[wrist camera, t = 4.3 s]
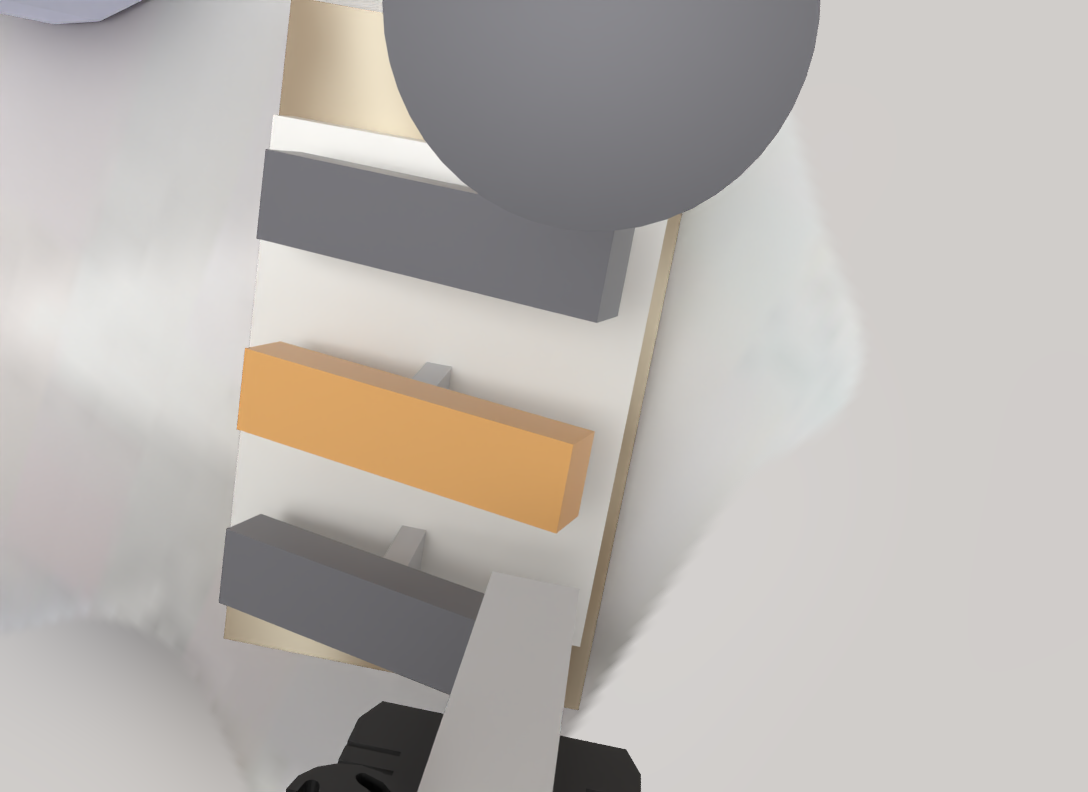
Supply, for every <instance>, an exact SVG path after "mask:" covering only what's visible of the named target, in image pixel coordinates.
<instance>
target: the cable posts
mask: <svg viewBox="0 0 1088 792" xmlns="http://www.w3.org/2000/svg"><path fill="white" fill-rule="evenodd" d="M819 15H820V0H383V21H384V35H385V40H386V46H387V51H388V57H389V62H390V66H391V69H392V72H393V75H394V79H395V82H396V85H397V88H398V91H399V93H400V95H401V98H402V100H403V102H404V104H405V106H406V109H407V111H408V113H409V115H410V117H411V119H412V120H413V122H414V124H415V125H416V127H417V129H418V130H419V132H420V134H421V135H422V137H423V139H424V140H425V141H426V143H427V144H428V145H429V146H430V148H431V149H432V150H433V151H434V153H435V154H436V155H437V157H438V158H439V159H440V160H441V162H442V163H443V164H444V165H445V166H446V167H447V168H449V169H450V170H451V171H452V172H453V173H454V174H455V175H456V176H457V177H458V178H459V179H460V180H461V181H462V182H463V183H465V184H466V185H467V186H469V187H470V188H471V189H473V190H474V191H475V192H477V193H478V194H479V195H481V196H482V197H483V198H485V199H487V200H488V201H490V202H492V203H494V204H496V205H497V206H499V207H501V208H503V209H504V210H506V211H508V212H511V213H513V214H516V215H518V216H521V217H523V218H526V219H528V220H530V221H533V222H537V223H541V224H545V225H549V226H553V227H557V228H562V229H571V230H579V231H616V230H623V229H629V228H636V227H642V226H645V225H649V224H652V223H656V222H659V221H663V220H666V219H669V218H671V217H673V216H676V215H678V214H680V213H683V212H685V211H687V210H690V209H692V208H694V207H696V206H697V205H699V204H701V203H702V202H704V201H706V200H707V199H709V198H711V197H712V196H714V195H716V194H717V193H719V192H720V191H721V190H722V189H724V188H725V187H726V186H728V185H729V184H730V183H731V182H733V181H734V180H735V179H737V178H738V177H739V176H740V175H741V174H742V173H743V172H744V171H745V170H746V169H747V168H748V167H749V166H750V165H751V164H752V163H753V162H754V161H755V160H756V159H757V158H758V157H759V156H760V155H761V154H762V152H763V151H764V150H765V149H766V147H767V146H768V145H769V143H770V142H771V141H772V140H773V138H774V137H775V136H776V134H777V133H778V132H779V130H780V128H781V127H782V125H783V123H784V122H785V120H786V118H787V117H788V115H789V113H790V111H791V110H792V108H793V106H794V104H795V102H796V99H797V97H798V95H799V93H800V90H801V88H802V86H803V84H804V81H805V78H806V76H807V72H808V69H809V65H810V62H811V59H812V55H813V52H814V48H815V42H816V36H817V29H818V24H819Z"/></svg>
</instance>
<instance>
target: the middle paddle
mask: <svg viewBox="0 0 1088 792" xmlns="http://www.w3.org/2000/svg"><path fill="white" fill-rule="evenodd" d="M237 429H238V430H241V431H244V432H247V433H250V434H253V435H256V436H259V437H262V438H265V439H268V440H271V441H274V442H277V443H281V444H284V445H287V446H290V447H293V448H296V449H299V450H302V451H305V452H308V453H311V454H314V455H317V456H320V457H323V458H326V459H329V460H333V461H336V462H339V463H342V464H345V465H348V466H351V467H354V468H357V469H360V470H363V471H366V472H369V473H372V474H375V475H378V476H381V477H385V478H388V479H391V480H394V481H397V482H400V483H403V484H406V485H409V486H412V487H415V488H418V489H421V490H424V491H427V492H430V493H433V494H436V495H440V496H443V497H446V498H449V499H452V500H455V501H458V502H461V503H464V504H467V505H470V506H473V507H476V508H479V509H482V510H485V511H488V512H492V513H495V514H498V515H501V516H504V517H507V518H510V519H513V520H516V521H519V522H522V523H525V524H528V525H531V526H534V527H537V528H540V529H543V530H547V531H550V532H553V533H558V532H559V531H560V530H561V529H563V528H564V527H565V526H566V525H568V524H569V523H570V522H571V521H573V520H574V519H575V518H576V517H578V515H579V509H580V504H581V499H582V494H583V489H584V484H585V479H586V474H587V469H588V464H589V459H590V454H591V449H592V444H593V439H594V434H595V431H592V430H588V429H585V428H581V427H578V426H574V425H571V424H567V423H564V422H560V421H557V420H553V419H550V418H546V417H543V416H539V415H536V414H532V413H529V412H525V411H522V410H518V409H515V408H512V407H508V406H505V405H501V404H498V403H494V402H491V401H487V400H484V399H480V398H477V397H473V396H470V395H466V394H463V393H459V392H456V391H452V390H449V389H445V388H442V387H438V386H435V385H431V384H428V383H424V382H421V381H417V380H414V379H410V378H407V377H403V376H400V375H396V374H393V373H389V372H386V371H382V370H379V369H375V368H372V367H369V366H365V365H362V364H358V363H355V362H351V361H348V360H344V359H341V358H337V357H334V356H330V355H327V354H323V353H320V352H316V351H313V350H309V349H306V348H302V347H299V346H295V345H292V344H288V343H285V342H281V341H279V342H274V343H269V344H264V345H259V346H254V347H249V348H245V354H244V364H243V374H242V383H241V393H240V403H239V412H238V422H237Z"/></svg>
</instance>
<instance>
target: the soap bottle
mask: <svg viewBox="0 0 1088 792" xmlns="http://www.w3.org/2000/svg"><path fill="white" fill-rule="evenodd" d="M140 1H142V0H0V13H1V14H5V15H10V16H15V17H20V18H25V19H30V20H35V21H40V22H45V23H50V24H66V23H82V22H97V21H102V20H104V19H106V18H108V17H110V16H112V15H114V14H116V13H118V12H120V11H122V10H124V9H126V8H128V7H130V6H132V5H134V4H136V3H138V2H140Z"/></svg>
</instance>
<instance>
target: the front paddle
mask: <svg viewBox="0 0 1088 792" xmlns="http://www.w3.org/2000/svg"><path fill="white" fill-rule="evenodd" d="M634 231H635V228H629V229H623V230H616V231H579V230H571V229H562V228H557V227H553V226H549V225H545V224H541V223H537V222H533V221H530V220H528V219H526V218H523V217H521V216H518V215H516V214H513V213H511V212H508V211H506V210H504V209H503V208H501V207H499V206H497V205H496V204H494V203H492V202H490V201H488V200H487V199H485V198H483V197H482V196H481V195H479V194H478V193H477V192H475V191H474V190H473V189H471V188H470V187H466V186H462V185H457V184H452V183H447V182H442V181H438V180H433V179H428V178H423V177H419V176H414V175H409V174H404V173H400V172H395V171H390V170H385V169H381V168H376V167H371V166H366V165H362V164H357V163H352V162H347V161H343V160H338V159H333V158H328V157H324V156H319V155H314V154H309V153H304V152H297V151H284V150H271V149H266V151H265V161H264V171H263V180H262V190H261V200H260V209H259V219H258V229H257V239H261V240H265V241H269V242H273V243H277V244H281V245H285V246H289V247H293V248H297V249H301V250H305V251H309V252H313V253H317V254H321V255H325V256H329V257H333V258H337V259H341V260H345V261H349V262H353V263H357V264H361V265H365V266H369V267H373V268H377V269H381V270H385V271H389V272H393V273H397V274H402V275H406V276H410V277H414V278H418V279H422V280H426V281H430V282H434V283H438V284H442V285H446V286H450V287H454V288H458V289H462V290H466V291H470V292H474V293H478V294H482V295H486V296H490V297H494V298H498V299H502V300H506V301H510V302H514V303H518V304H522V305H526V306H530V307H534V308H538V309H542V310H546V311H550V312H554V313H559V314H563V315H567V316H571V317H575V318H579V319H583V320H587V321H591V322H595V323H598V322H601V321H605V320H608V319H611V318H614V317H617V316H618V312H619V307H620V302H621V297H622V292H623V287H624V282H625V277H626V272H627V267H628V262H629V257H630V252H631V246H632V241H633V236H634Z"/></svg>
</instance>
